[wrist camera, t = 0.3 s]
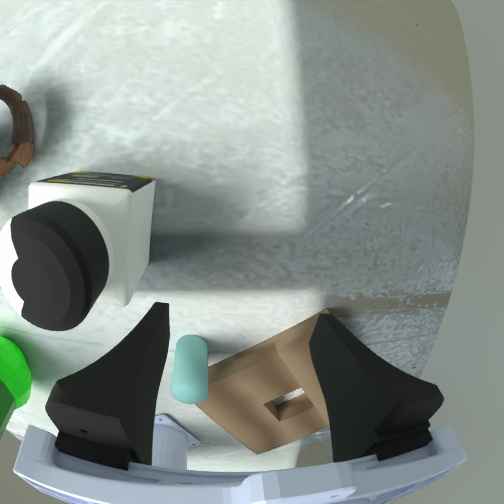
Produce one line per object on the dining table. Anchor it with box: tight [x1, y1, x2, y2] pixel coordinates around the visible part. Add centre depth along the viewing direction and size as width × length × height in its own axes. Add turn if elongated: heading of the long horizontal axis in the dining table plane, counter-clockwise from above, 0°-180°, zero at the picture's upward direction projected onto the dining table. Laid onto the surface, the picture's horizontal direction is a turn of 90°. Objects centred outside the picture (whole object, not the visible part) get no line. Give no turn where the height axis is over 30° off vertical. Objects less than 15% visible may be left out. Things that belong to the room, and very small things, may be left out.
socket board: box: [195, 309, 330, 455], centre depth 28 cm, size 16×16×2 cm
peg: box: [171, 335, 208, 404], centre depth 23 cm, size 3×3×6 cm
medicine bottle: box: [0, 171, 156, 331], centre depth 15 cm, size 7×7×12 cm
